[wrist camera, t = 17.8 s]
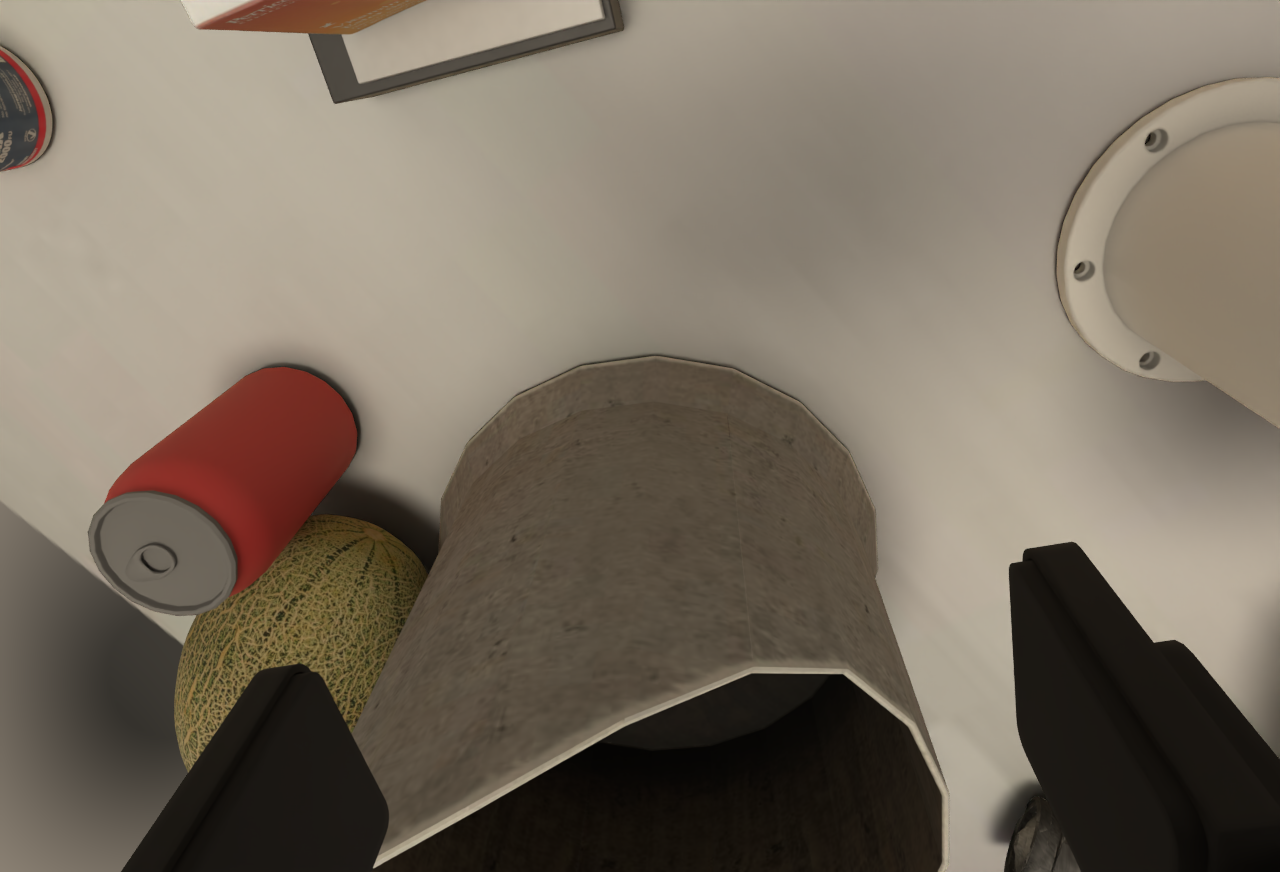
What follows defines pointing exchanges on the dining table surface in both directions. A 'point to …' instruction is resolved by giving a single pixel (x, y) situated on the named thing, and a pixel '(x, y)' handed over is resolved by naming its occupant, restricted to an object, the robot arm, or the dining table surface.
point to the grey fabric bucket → (653, 647)
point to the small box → (292, 14)
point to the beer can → (223, 492)
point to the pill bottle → (21, 114)
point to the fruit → (301, 624)
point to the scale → (454, 41)
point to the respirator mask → (1039, 842)
